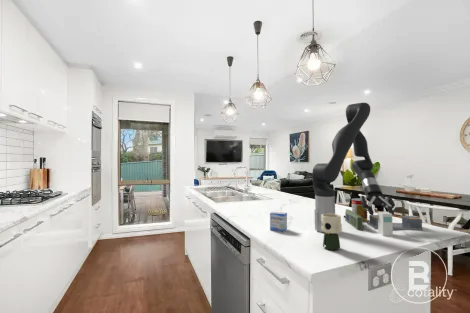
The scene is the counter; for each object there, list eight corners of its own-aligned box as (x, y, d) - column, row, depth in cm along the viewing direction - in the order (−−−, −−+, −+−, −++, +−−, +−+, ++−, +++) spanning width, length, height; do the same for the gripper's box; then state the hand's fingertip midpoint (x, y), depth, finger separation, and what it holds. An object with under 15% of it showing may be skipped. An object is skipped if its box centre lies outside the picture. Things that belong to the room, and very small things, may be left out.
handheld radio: (356, 230, 116) (341, 218, 140) (363, 231, 115) (347, 218, 140) (356, 217, 116) (341, 207, 140) (363, 217, 115) (347, 207, 140)
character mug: (315, 244, 96) (314, 213, 96) (329, 242, 98) (328, 211, 98) (333, 254, 85) (333, 219, 86) (349, 252, 87) (348, 217, 88)
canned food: (370, 221, 133) (370, 200, 133) (358, 222, 131) (358, 200, 131) (360, 218, 140) (359, 198, 141) (349, 219, 138) (348, 198, 139)
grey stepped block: (374, 228, 118) (374, 218, 118) (367, 223, 127) (367, 214, 127) (422, 230, 114) (422, 219, 115) (412, 225, 123) (411, 215, 124)
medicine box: (269, 230, 117) (269, 213, 117) (271, 228, 121) (271, 211, 121) (285, 232, 114) (285, 214, 114) (287, 229, 118) (286, 212, 118)
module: (383, 236, 106) (382, 214, 106) (378, 232, 111) (377, 211, 112) (393, 236, 106) (392, 214, 106) (387, 233, 111) (386, 211, 111)
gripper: (358, 183, 122) (368, 210, 110) (388, 183, 120) (401, 210, 108) (355, 192, 127) (364, 218, 115) (383, 192, 125) (395, 219, 113)
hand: (382, 214), depth 112 cm, fingers open, 8 cm apart
